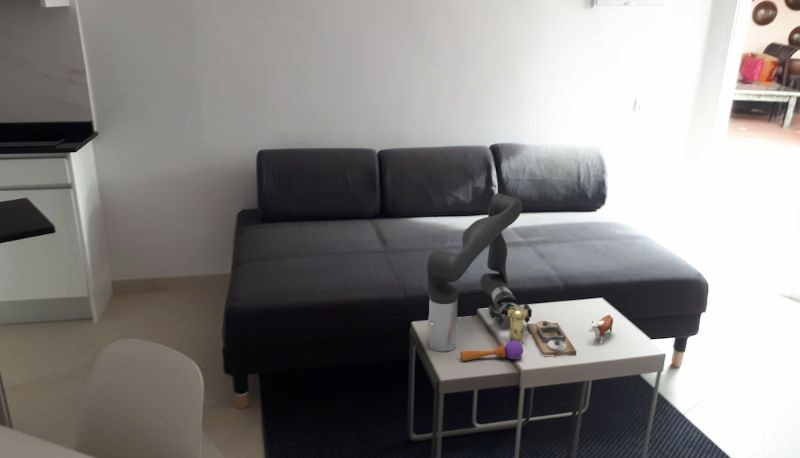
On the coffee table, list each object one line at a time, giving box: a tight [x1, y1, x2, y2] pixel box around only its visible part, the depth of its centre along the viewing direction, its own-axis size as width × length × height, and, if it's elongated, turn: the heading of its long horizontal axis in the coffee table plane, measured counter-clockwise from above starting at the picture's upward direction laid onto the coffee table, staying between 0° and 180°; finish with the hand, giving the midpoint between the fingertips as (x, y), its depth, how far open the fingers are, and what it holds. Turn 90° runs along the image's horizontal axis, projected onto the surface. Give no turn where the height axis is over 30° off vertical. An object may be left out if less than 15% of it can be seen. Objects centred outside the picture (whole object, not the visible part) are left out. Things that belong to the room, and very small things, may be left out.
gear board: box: [526, 320, 577, 357], centre depth 213 cm, size 11×20×4 cm, turn 4°
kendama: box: [460, 340, 524, 362], centre depth 202 cm, size 6×6×20 cm
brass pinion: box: [507, 305, 528, 343], centre depth 211 cm, size 6×6×12 cm
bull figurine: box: [588, 314, 614, 345], centre depth 213 cm, size 4×13×8 cm, turn 135°
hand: (515, 320), depth 212 cm, fingers open, 8 cm apart
